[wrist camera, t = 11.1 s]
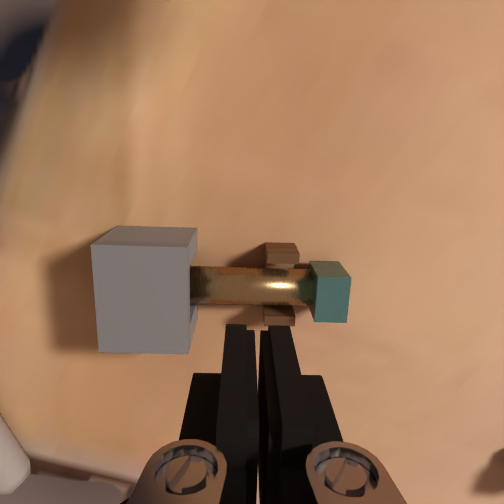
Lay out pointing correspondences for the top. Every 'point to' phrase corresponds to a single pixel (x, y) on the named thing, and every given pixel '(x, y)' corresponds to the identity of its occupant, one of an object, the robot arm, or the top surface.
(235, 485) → the robot arm
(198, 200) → the top surface
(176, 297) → the socket block
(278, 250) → the guide block
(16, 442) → the tube
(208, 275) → the bronze piece
